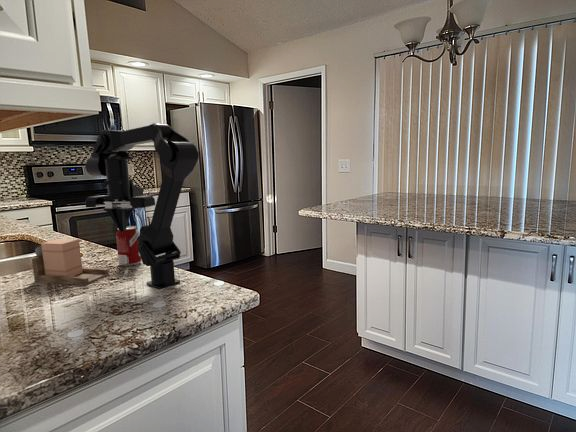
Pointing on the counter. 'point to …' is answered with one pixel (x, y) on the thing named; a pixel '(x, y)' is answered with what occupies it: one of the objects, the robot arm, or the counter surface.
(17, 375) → the counter surface
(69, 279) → the bay
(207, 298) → the counter surface
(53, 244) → the pink box
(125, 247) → the soda can
